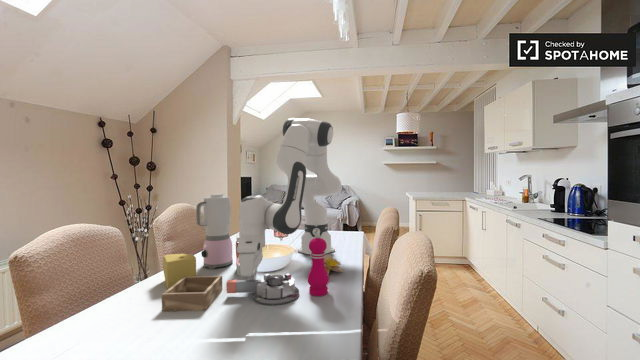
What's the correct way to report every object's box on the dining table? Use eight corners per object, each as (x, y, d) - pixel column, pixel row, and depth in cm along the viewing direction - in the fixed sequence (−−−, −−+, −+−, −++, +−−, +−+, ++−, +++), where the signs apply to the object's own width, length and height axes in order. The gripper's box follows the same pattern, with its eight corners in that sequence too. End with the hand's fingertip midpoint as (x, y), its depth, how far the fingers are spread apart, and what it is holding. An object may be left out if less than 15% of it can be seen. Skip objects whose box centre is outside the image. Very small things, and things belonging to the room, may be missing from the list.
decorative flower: (344, 279, 109) (344, 253, 108) (315, 279, 109) (314, 253, 109) (342, 266, 124) (342, 243, 124) (316, 267, 124) (316, 244, 124)
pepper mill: (327, 297, 92) (326, 236, 92) (305, 296, 94) (304, 235, 94) (330, 289, 99) (329, 231, 99) (310, 287, 101) (309, 231, 101)
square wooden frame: (184, 290, 99) (184, 276, 99) (222, 290, 100) (222, 275, 100) (162, 311, 84) (161, 294, 84) (206, 310, 85) (206, 293, 85)
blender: (223, 260, 136) (222, 193, 136) (238, 265, 128) (237, 193, 128) (190, 268, 124) (189, 195, 124) (204, 274, 116) (203, 195, 116)
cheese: (192, 275, 115) (192, 251, 115) (197, 284, 106) (197, 257, 106) (163, 281, 109) (162, 255, 109) (165, 290, 100) (165, 262, 100)
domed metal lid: (258, 287, 102) (257, 270, 102) (300, 286, 102) (299, 269, 102) (248, 306, 87) (248, 286, 87) (297, 304, 87) (297, 285, 87)
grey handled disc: (295, 283, 101) (295, 271, 101) (293, 297, 89) (293, 284, 89) (232, 285, 100) (232, 273, 100) (221, 299, 88) (221, 286, 88)
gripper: (249, 235, 111) (250, 271, 111) (235, 249, 90) (236, 292, 90) (266, 235, 111) (266, 271, 111) (255, 248, 90) (256, 292, 90)
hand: (253, 281), depth 100 cm, fingers closed
